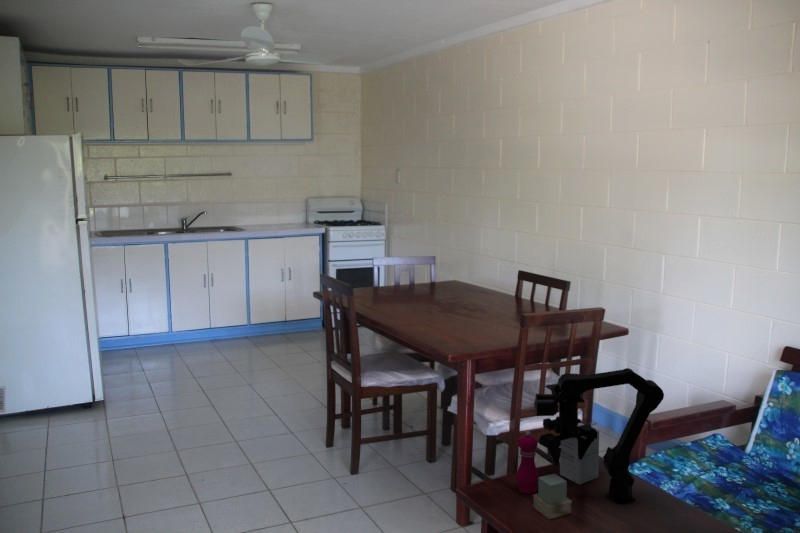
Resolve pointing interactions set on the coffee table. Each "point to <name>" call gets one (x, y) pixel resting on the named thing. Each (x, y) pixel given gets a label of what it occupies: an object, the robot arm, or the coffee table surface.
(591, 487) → the coffee table surface
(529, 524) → the coffee table surface
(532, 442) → the pepper mill
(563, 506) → the oak box
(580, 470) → the supplement box
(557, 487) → the sage block
